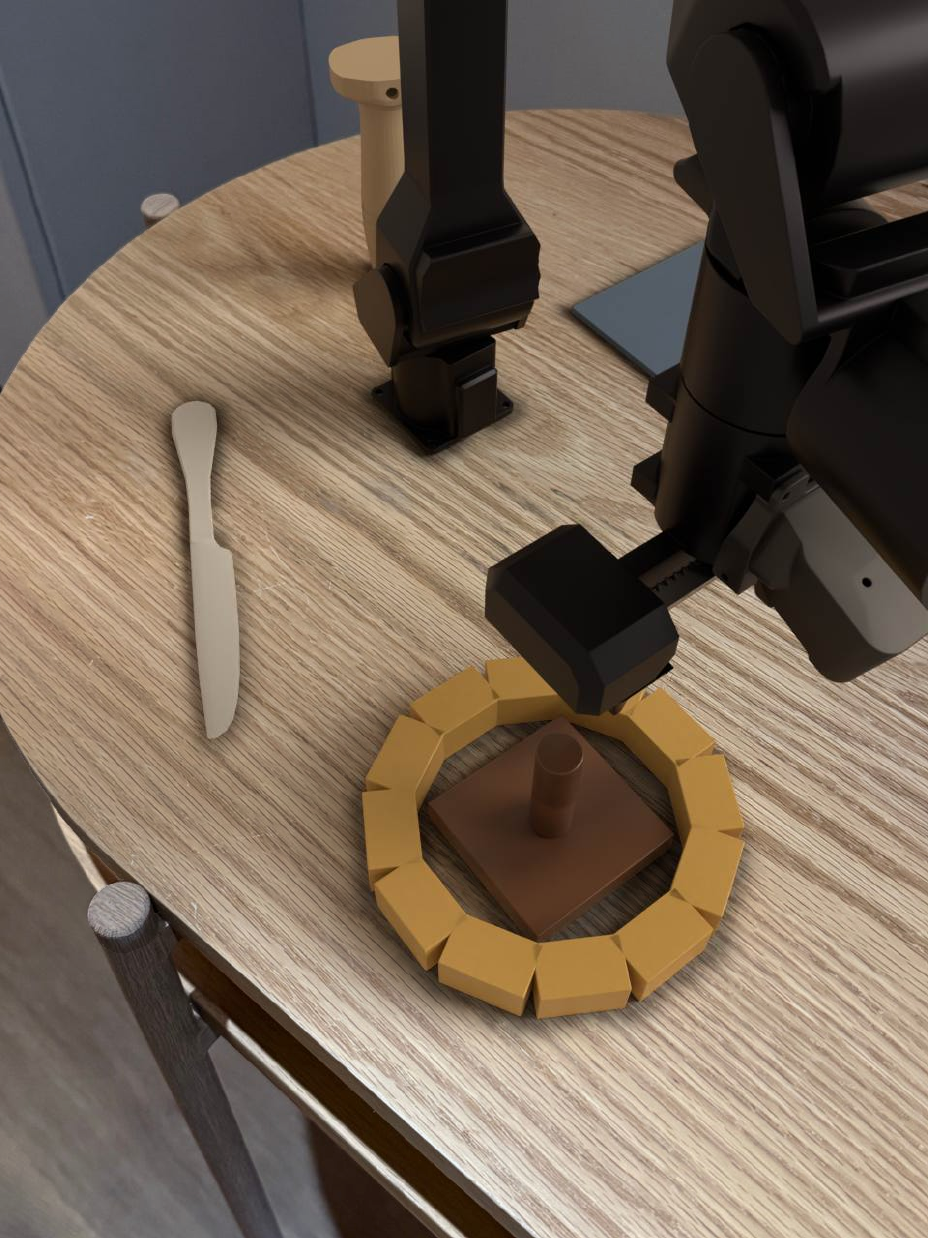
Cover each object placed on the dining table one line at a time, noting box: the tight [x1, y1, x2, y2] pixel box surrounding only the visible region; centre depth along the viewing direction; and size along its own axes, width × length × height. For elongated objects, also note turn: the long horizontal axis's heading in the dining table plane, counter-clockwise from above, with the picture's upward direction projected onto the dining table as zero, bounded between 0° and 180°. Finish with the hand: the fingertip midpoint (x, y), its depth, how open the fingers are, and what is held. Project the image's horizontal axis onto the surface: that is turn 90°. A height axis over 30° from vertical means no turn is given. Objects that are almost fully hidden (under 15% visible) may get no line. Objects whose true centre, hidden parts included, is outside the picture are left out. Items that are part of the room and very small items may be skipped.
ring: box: [361, 656, 746, 1020], centre depth 52 cm, size 17×17×2 cm
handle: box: [328, 35, 405, 269], centre depth 72 cm, size 5×6×15 cm
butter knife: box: [171, 400, 241, 740], centre depth 63 cm, size 1×24×3 cm
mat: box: [570, 240, 705, 378], centre depth 75 cm, size 12×12×1 cm
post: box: [427, 714, 675, 943], centre depth 50 cm, size 8×8×8 cm
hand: (689, 651), depth 49 cm, fingers open, 9 cm apart
